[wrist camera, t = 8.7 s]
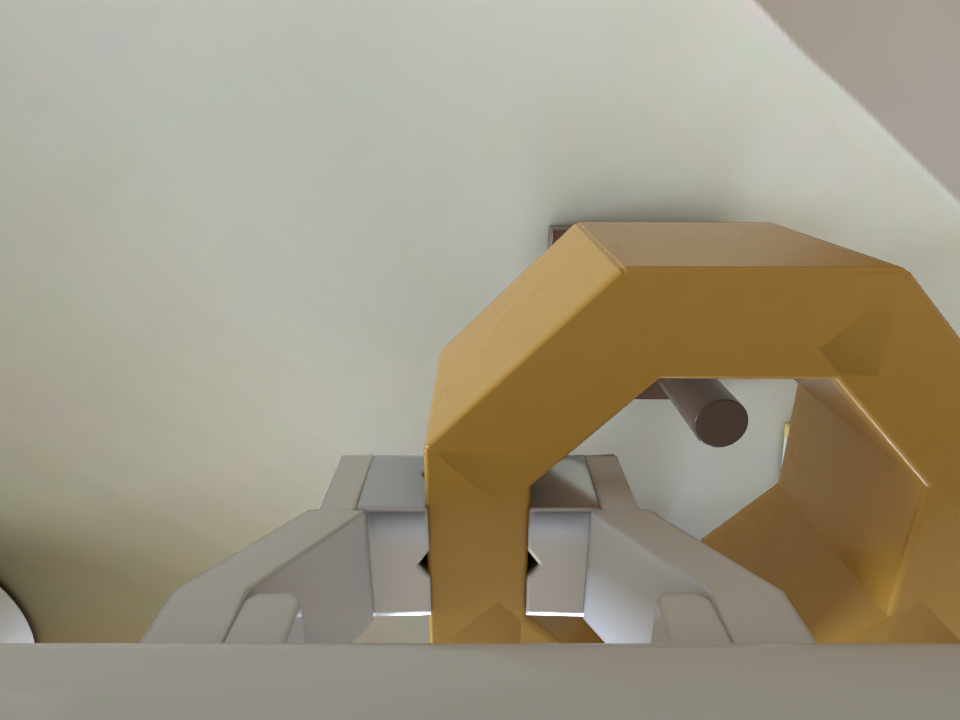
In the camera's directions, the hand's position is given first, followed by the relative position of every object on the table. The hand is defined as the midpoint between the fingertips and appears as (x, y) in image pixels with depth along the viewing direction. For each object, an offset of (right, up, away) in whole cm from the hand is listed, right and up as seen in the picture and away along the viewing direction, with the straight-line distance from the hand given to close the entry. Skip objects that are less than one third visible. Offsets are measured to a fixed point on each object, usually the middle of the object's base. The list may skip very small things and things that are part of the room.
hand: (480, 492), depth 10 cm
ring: (+3, +1, +2) cm, 4 cm away
